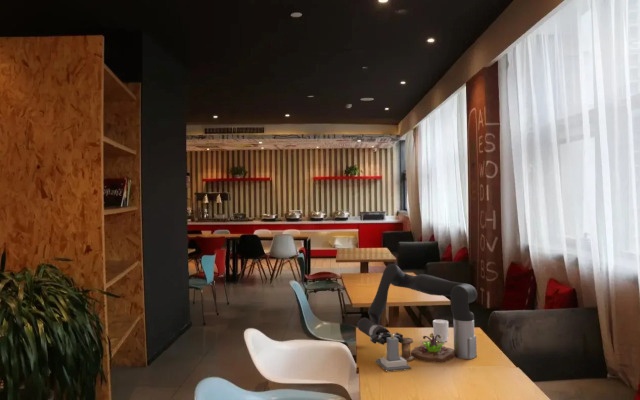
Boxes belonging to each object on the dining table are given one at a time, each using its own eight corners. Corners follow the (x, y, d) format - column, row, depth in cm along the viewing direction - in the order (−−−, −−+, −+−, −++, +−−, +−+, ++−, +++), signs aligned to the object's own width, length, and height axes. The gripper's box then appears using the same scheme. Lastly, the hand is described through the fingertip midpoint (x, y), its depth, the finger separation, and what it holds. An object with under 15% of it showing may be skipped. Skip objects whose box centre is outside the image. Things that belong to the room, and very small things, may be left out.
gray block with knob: (387, 362, 212) (386, 333, 212) (395, 361, 213) (394, 333, 213) (390, 365, 208) (389, 336, 208) (399, 364, 209) (398, 335, 209)
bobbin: (416, 359, 219) (415, 339, 219) (407, 362, 214) (407, 342, 214) (398, 354, 226) (398, 335, 226) (390, 357, 221) (390, 338, 221)
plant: (404, 358, 221) (404, 334, 221) (421, 347, 237) (420, 325, 237) (446, 366, 210) (445, 340, 210) (460, 354, 226) (460, 330, 226)
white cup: (430, 339, 250) (430, 320, 251) (443, 337, 253) (443, 319, 253) (438, 343, 243) (438, 323, 243) (451, 341, 245) (451, 322, 245)
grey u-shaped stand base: (375, 361, 216) (375, 355, 216) (398, 359, 219) (398, 352, 219) (387, 371, 202) (387, 364, 202) (411, 369, 205) (411, 362, 205)
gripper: (364, 327, 224) (377, 334, 209) (393, 324, 228) (407, 331, 212) (365, 343, 224) (377, 351, 208) (393, 340, 227) (408, 348, 212)
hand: (392, 341), depth 210 cm, fingers open, 8 cm apart
